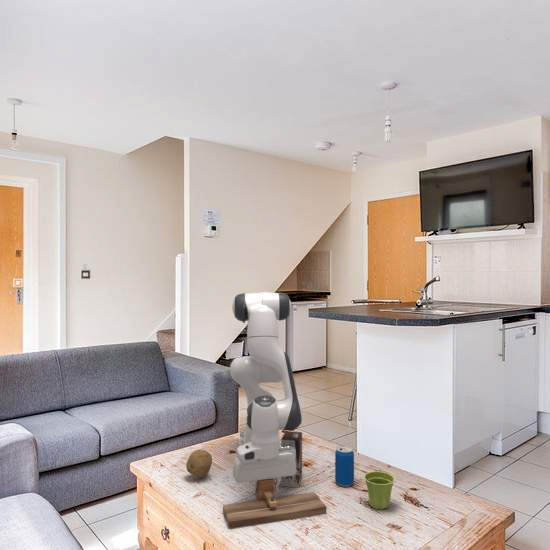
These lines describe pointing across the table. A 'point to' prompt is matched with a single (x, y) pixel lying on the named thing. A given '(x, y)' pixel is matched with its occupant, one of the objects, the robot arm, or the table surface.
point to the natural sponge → (199, 463)
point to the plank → (273, 510)
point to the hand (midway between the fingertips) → (265, 492)
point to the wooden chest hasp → (266, 491)
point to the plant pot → (379, 488)
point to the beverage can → (344, 466)
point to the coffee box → (296, 442)
